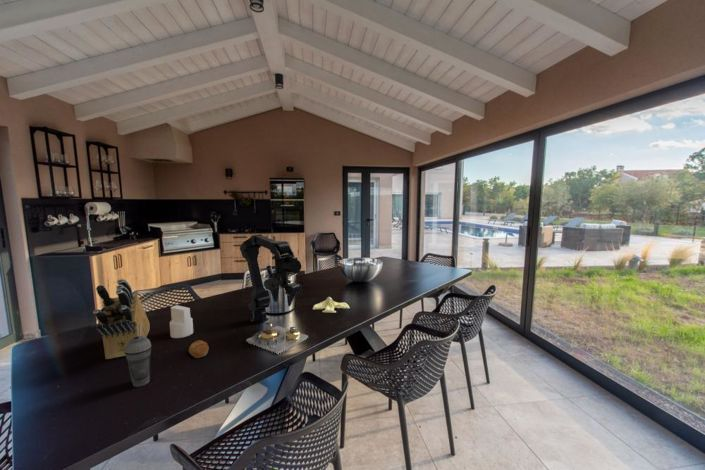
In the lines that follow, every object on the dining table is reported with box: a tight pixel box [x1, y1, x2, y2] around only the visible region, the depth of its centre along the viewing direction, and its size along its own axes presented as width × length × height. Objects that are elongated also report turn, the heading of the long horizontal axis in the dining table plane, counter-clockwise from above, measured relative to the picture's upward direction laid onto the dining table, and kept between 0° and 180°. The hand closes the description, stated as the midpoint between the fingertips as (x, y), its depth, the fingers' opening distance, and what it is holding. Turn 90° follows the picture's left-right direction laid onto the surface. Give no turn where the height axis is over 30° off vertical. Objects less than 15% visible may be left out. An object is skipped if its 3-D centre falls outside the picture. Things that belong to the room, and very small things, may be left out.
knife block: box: [92, 278, 151, 360], centre depth 123 cm, size 11×35×31 cm, turn 25°
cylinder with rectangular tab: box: [169, 304, 194, 339], centre depth 138 cm, size 9×9×12 cm
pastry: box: [188, 339, 209, 359], centre depth 121 cm, size 9×7×4 cm
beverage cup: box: [125, 324, 153, 388], centre depth 100 cm, size 7×7×20 cm
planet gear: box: [260, 322, 277, 340], centre depth 131 cm, size 7×7×6 cm
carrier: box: [246, 325, 309, 355], centre depth 131 cm, size 19×17×5 cm
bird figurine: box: [312, 296, 350, 314], centre depth 173 cm, size 22×19×6 cm
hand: (282, 303), depth 139 cm, fingers open, 9 cm apart
